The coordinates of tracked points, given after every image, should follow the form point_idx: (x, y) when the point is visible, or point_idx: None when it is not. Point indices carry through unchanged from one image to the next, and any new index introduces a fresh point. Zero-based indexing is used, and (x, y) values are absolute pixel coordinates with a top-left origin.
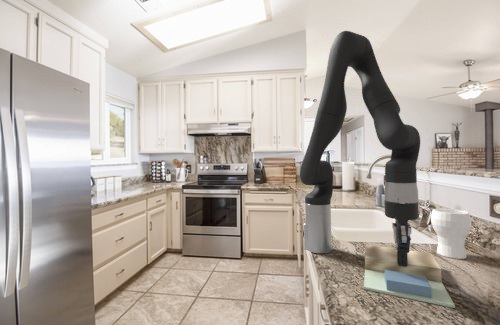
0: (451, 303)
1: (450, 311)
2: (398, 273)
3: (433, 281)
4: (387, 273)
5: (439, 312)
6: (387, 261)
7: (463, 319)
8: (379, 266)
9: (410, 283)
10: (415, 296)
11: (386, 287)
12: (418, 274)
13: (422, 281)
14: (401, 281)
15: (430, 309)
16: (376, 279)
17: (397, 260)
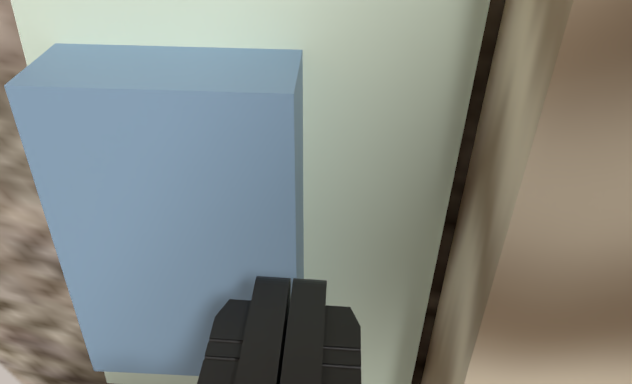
0: (121, 375)
1: (59, 343)
2: (254, 215)
3: (409, 371)
4: (194, 113)
5: (5, 298)
6: (521, 164)
7: (12, 368)
8: (522, 34)
9: (68, 268)
10: None
11: (79, 47)
12: (445, 330)
13: (173, 346)
14: (60, 211)
15: (6, 266)
16: None
17: (256, 312)
